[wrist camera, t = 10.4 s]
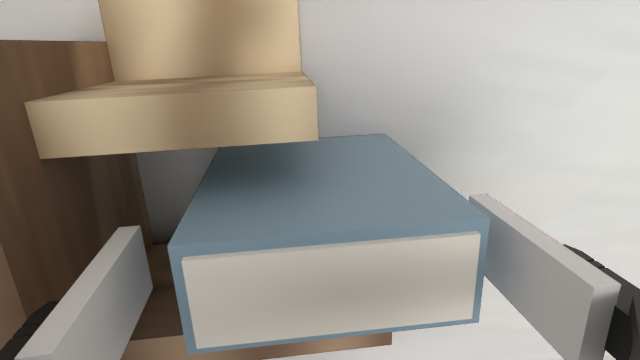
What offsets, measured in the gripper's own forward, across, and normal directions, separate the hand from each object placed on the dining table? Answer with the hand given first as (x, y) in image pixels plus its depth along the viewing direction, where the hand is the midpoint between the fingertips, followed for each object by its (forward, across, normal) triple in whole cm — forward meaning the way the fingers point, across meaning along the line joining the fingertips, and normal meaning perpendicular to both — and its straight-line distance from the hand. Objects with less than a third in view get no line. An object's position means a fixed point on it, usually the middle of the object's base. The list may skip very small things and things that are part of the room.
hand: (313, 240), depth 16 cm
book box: (+10, +1, 0) cm, 10 cm away
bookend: (+10, -4, +7) cm, 13 cm away
